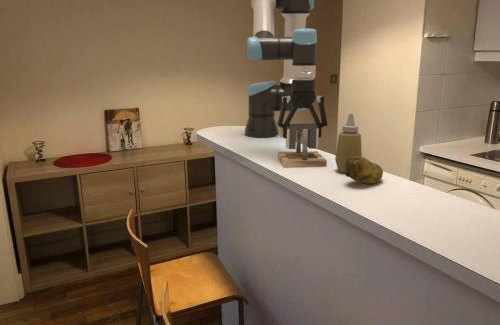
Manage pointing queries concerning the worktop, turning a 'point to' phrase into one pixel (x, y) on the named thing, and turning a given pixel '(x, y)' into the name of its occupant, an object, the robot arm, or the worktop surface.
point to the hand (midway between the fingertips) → (301, 147)
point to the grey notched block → (310, 126)
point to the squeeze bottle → (348, 144)
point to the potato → (363, 170)
